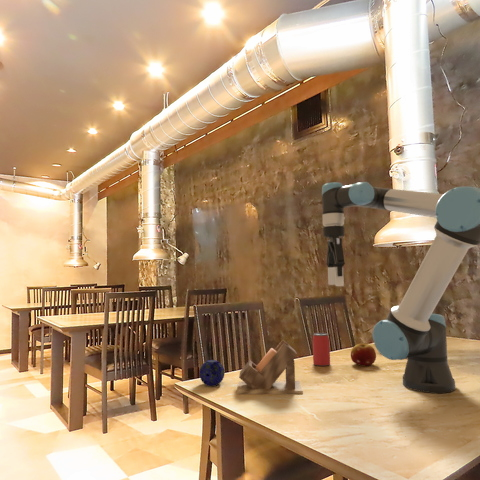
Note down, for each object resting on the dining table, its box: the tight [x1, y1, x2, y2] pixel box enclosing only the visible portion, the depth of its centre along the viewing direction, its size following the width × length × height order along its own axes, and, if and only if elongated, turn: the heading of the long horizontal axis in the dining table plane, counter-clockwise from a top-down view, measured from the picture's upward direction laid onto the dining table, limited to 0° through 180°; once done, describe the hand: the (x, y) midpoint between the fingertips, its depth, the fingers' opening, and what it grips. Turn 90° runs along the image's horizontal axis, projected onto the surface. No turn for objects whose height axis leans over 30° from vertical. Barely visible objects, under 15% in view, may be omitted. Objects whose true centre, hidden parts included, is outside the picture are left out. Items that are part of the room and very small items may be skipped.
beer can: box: [312, 332, 331, 367], centre depth 160 cm, size 7×7×12 cm
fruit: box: [350, 343, 377, 367], centre depth 158 cm, size 10×9×8 cm
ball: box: [199, 359, 225, 387], centre depth 135 cm, size 8×8×8 cm
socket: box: [236, 339, 304, 395], centre depth 129 cm, size 20×11×16 cm, turn 88°
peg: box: [255, 347, 277, 373], centre depth 128 cm, size 4×4×12 cm
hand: (335, 285), depth 143 cm, fingers open, 13 cm apart
